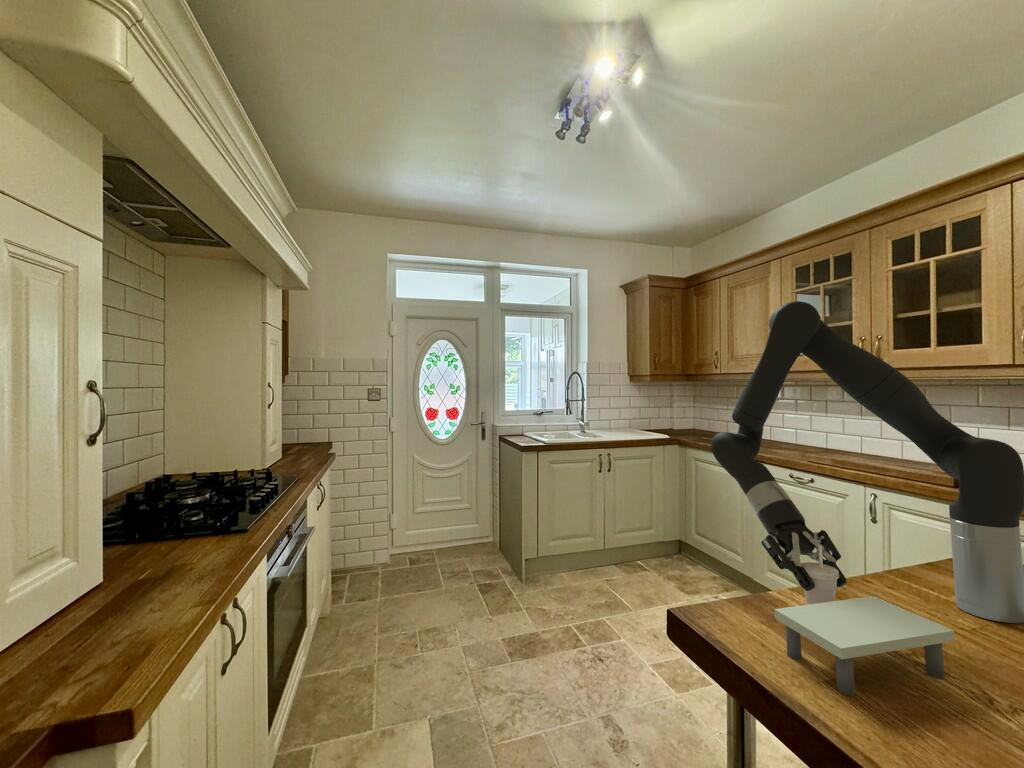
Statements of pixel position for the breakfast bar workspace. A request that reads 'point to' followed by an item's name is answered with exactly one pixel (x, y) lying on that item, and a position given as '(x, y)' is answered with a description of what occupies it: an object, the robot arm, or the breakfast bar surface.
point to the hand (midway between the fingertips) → (826, 586)
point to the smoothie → (821, 581)
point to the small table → (863, 633)
